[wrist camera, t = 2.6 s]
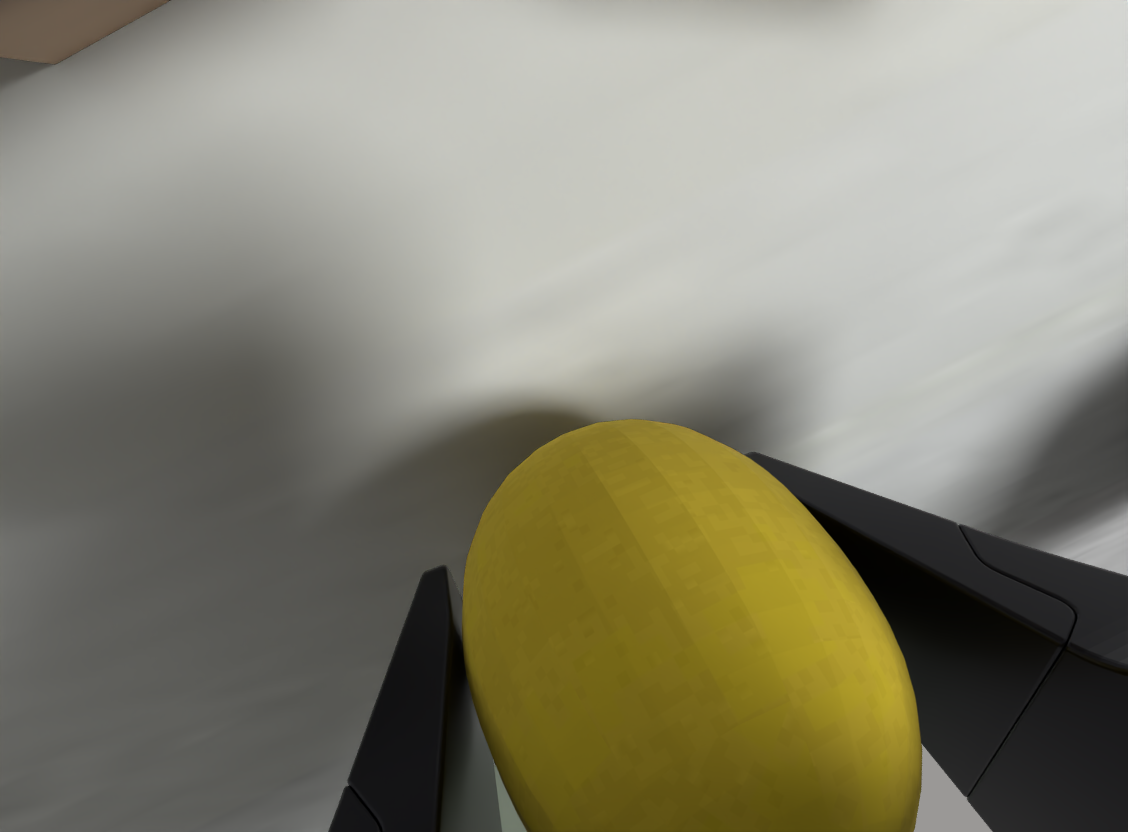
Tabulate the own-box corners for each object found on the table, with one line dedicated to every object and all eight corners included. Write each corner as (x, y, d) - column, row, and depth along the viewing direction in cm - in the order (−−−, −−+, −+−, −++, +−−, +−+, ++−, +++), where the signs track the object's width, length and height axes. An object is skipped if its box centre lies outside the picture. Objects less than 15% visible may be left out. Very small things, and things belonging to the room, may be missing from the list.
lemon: (579, 589, 13) (791, 1070, 7) (378, 517, 10) (399, 1266, 4) (729, 424, 12) (1173, 814, 5) (550, 288, 9) (1053, 788, 2)
